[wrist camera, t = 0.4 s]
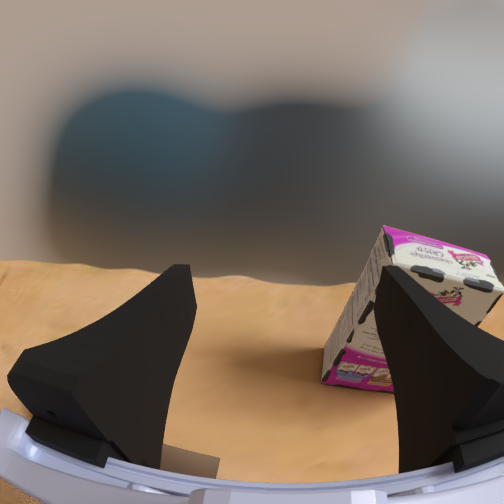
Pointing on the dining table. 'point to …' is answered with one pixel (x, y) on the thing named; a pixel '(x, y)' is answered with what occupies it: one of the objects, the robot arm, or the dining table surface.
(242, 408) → the dining table surface
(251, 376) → the dining table surface
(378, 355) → the candy bar box
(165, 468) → the walnut block
